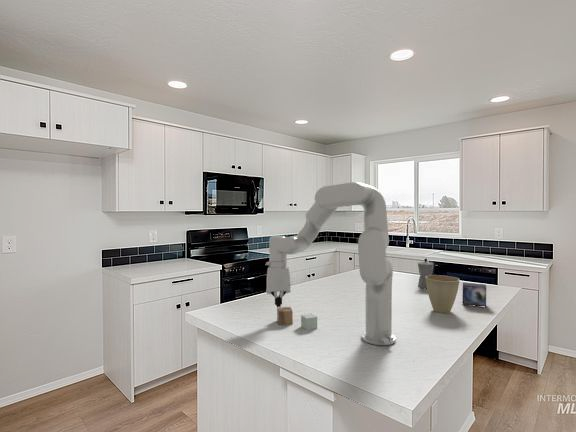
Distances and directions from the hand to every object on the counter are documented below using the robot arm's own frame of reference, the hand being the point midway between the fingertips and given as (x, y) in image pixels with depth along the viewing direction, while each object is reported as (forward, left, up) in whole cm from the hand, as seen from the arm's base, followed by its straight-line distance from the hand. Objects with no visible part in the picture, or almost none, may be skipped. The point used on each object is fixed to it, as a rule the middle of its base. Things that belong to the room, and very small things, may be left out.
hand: (278, 306), depth 145 cm
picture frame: (+8, -102, -8) cm, 102 cm away
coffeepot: (+48, -101, -8) cm, 112 cm away
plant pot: (+2, -80, -8) cm, 80 cm away
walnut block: (0, 0, -4) cm, 4 cm away
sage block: (-8, -12, -7) cm, 16 cm away
